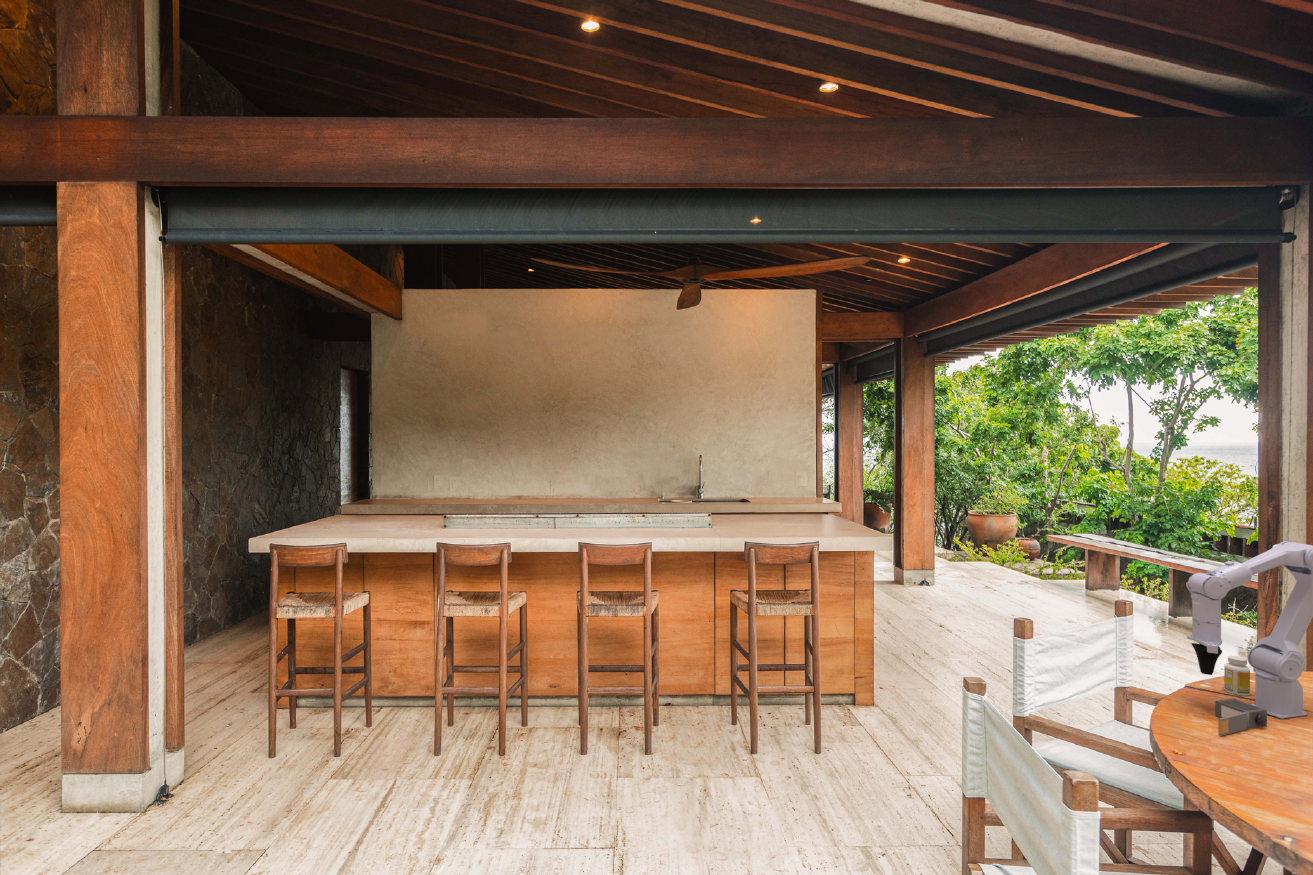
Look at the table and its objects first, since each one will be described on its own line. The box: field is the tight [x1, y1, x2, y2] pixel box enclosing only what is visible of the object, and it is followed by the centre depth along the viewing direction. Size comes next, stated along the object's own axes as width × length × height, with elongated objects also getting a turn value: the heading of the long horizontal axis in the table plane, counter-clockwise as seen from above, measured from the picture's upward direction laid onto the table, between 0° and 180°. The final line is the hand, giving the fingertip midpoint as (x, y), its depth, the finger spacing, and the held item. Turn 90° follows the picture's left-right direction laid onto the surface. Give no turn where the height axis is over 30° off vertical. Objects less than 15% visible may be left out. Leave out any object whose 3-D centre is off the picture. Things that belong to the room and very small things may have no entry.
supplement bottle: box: [1223, 655, 1251, 697], centre depth 182 cm, size 5×5×10 cm
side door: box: [1217, 712, 1250, 736], centre depth 157 cm, size 1×11×4 cm, turn 112°
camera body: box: [1214, 697, 1268, 730], centre depth 163 cm, size 6×8×4 cm
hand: (1206, 673), depth 170 cm, fingers closed
